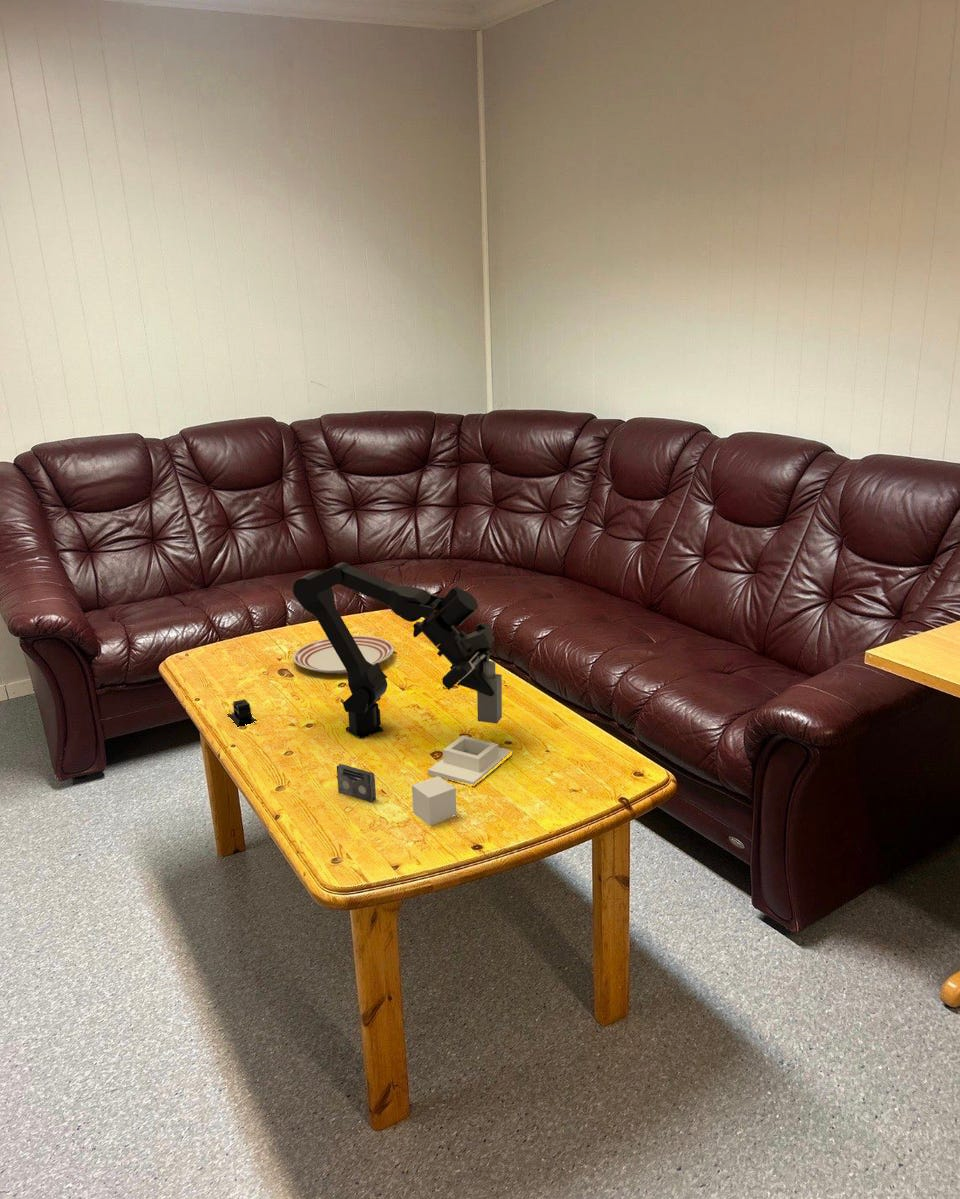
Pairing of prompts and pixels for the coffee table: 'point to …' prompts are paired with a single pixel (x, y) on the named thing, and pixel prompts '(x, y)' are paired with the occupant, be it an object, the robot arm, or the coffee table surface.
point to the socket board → (468, 760)
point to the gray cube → (434, 800)
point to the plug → (491, 705)
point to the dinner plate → (327, 660)
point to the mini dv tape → (356, 783)
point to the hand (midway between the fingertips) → (495, 691)
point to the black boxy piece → (241, 713)
